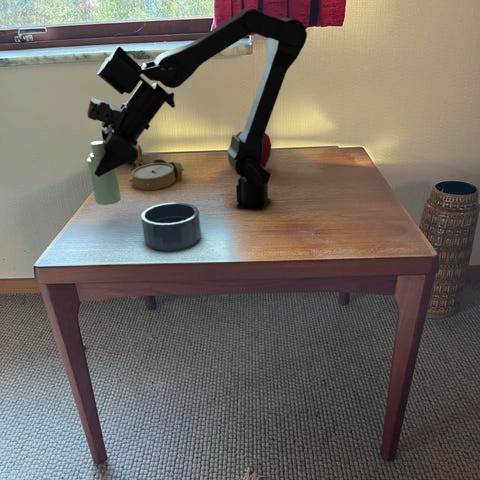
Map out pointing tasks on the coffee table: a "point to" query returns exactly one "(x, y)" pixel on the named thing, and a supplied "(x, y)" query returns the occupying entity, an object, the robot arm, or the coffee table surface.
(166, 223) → the pot
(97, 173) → the robot arm
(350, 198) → the coffee table surface
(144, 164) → the lion figurine
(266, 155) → the apple
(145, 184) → the alarm clock
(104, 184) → the capped bottle
